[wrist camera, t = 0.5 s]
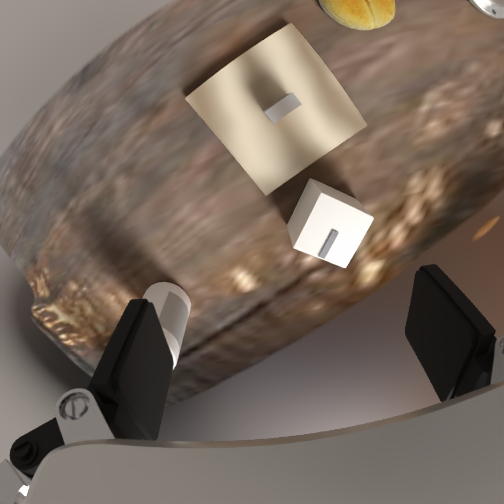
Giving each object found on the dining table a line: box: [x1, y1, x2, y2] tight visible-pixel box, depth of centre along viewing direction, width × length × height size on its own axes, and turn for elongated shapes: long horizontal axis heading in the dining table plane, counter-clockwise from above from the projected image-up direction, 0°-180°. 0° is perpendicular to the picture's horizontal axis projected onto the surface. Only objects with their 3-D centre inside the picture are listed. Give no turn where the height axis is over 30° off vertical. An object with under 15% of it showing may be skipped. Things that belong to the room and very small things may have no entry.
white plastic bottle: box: [142, 282, 191, 369], centre depth 34 cm, size 7×7×18 cm
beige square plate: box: [185, 23, 367, 196], centre depth 28 cm, size 14×14×6 cm
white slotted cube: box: [287, 178, 374, 268], centre depth 34 cm, size 6×6×6 cm
